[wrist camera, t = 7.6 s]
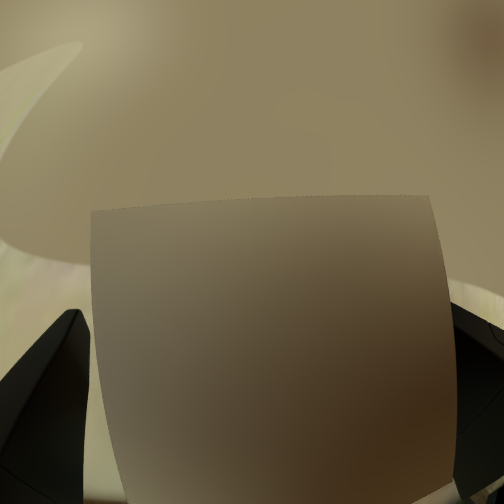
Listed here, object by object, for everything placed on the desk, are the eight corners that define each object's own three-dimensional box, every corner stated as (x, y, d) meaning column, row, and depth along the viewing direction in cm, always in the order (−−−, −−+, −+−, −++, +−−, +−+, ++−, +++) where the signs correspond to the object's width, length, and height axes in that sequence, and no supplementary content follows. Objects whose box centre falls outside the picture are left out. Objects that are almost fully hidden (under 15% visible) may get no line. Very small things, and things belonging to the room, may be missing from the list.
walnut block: (279, 382, 16) (452, 481, 4) (184, 394, 15) (148, 558, 3) (268, 290, 17) (428, 195, 5) (173, 299, 16) (91, 212, 4)
